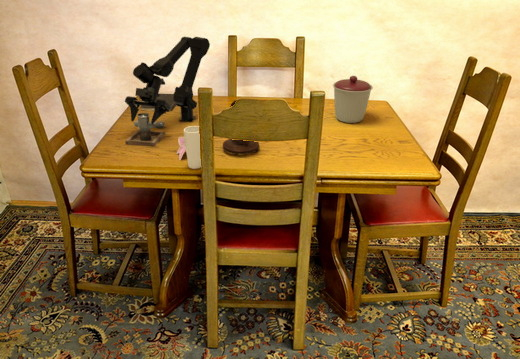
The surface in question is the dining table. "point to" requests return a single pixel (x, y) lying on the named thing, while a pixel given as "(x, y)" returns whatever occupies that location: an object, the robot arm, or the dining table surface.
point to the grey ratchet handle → (155, 125)
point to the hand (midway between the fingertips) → (141, 122)
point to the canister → (351, 99)
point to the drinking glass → (192, 146)
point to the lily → (181, 147)
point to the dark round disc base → (240, 145)
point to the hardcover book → (166, 97)
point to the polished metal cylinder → (144, 126)
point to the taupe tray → (135, 140)
